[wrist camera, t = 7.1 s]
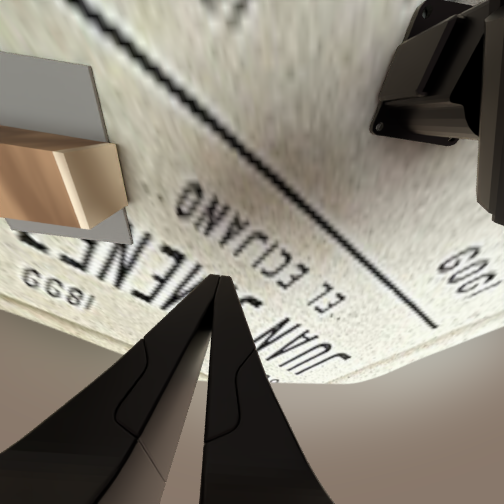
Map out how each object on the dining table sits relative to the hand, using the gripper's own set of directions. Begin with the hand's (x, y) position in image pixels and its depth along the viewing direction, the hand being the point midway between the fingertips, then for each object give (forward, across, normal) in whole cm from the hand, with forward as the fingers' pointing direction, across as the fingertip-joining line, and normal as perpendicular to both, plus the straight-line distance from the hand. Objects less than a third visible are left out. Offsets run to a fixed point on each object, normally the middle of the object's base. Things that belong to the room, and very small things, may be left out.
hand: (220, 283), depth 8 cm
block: (+9, +10, 0) cm, 14 cm away
